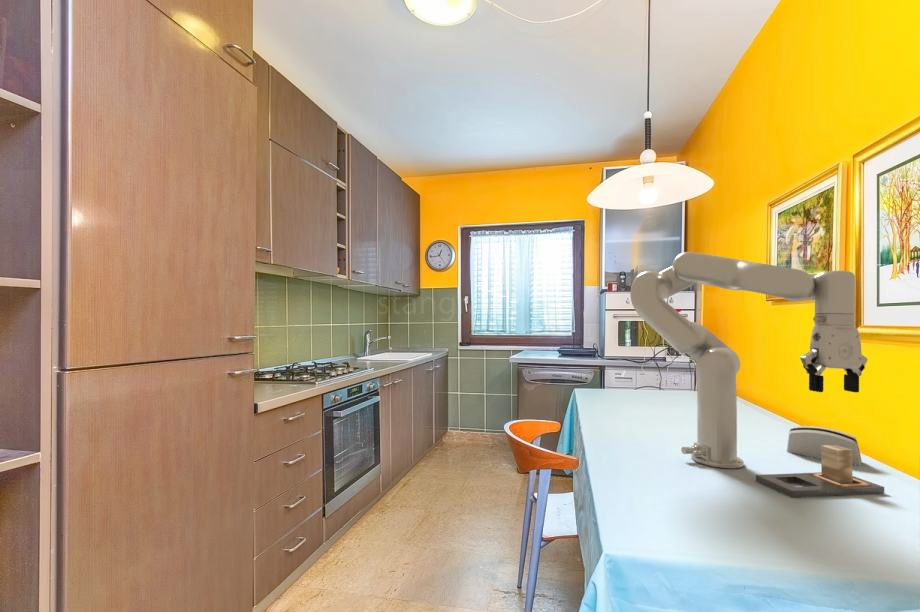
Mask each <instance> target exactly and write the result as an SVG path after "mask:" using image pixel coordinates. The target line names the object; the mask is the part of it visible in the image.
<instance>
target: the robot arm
mask: <svg viewBox="0 0 920 612" xmlns="http://www.w3.org/2000/svg"><path fill="white" fill-rule="evenodd" d="M855 275H856V274H854V273H853V272H852V271H850V270H829V271H821V272H819V273H808V272H807V271H804V270H802V269H797V268H791V267H787V266H785V267H784V266H780V265H774V264H767V263H761V262H753V261H748V260H743V259H737V258H731V257H725V256H724V257H723V256H718V255H712V254H708V253H700V252H694V251H684V252H681V253H679V254H678V255H677V256H676V257H674V260H673V261H672V265H671V266H670V267H668V268H666V269H663V270H662V271H660V272H658V271H654V270H653V271H652V270H651V271H649V270H647V271H643V272H640V273H639V274H638V275H637V276H635V278H634V279H633V281H632V284H631V286H630V302H631V304H632V306H633V308H634V311H635V312H636V313H637V315H638V316H639V317H640V318H641V320H643V321H644V322H645V323H646V324H648V326H650V328H651V329H653V330H654V331H655V332H656V333H657V334H658V335H659V336H660V337H661V338H662V339H663V340H665V342H667V343H668V344H669V345H670V346H671V347H672V349H674V350H675V351H676V352H678V353H681V354H687V355H688V356H689V357H691V359H693V360H694V361H695V379H696V380H695V381H696V391H697V392H696V393H697V394H696V396H697V397H696V398H697V399H696V403H697V409H696V412H697V418H696V419H697V420H696V421H697V429H696V430H697V433H696V434H697V435H696V436H697V437H696V440H697V441H695V442H693V445H691V446H682V447H681V450H680V451H681V453H682V454H683V455H690V454H691V455H690V457H691V459H692V460H693V461H695V462H697V463H699V464H701V465H706V466H708V467H709V466H710V467H713V468H719V469H720V468H722V469H740V468H742V467H743V466H745V463H744V462H745V461H744V460H743V458H741V457H738V428H737V427H738V418H737V417H738V410H737V409H738V407H737V406H738V405H737V403H738V402H737V401H738V399H737V395H738V394H737V374H738V373H739V371H740V369H741V360H740V357H739V356H738V354H737V353H736V352H735V351H734V350H733V349H732V348H731V347H730V346H728V344H726V343H725V342H724V341H723V340H721V339H720V338H719V337H718V336H716V335H715V334H714V333H713V332H711V331H710V330H709V329H708V328H707V327H705V326H704V325H702V324H701V323H698V322H695V321H690V320H688V319H687V318H686V317H684V316H683V315H682V314H681V313H680V312H678V311H677V309H676V308H674V307H673V306H672V305H670V304H669V303H668V302H667V301H665V299H668V298H670V297H672V296H674V295H676V294H678V293H680V292H682V291H684V290H686V289H688V288H690V287H692V286H693V285H696V284H700V285H706V286H711V287H714V288H715V287H716V288H719V289H720V288H721V289H723V290H724V289H725V290H730V291H747V292H753V293H756V294H757V293H758V294H763V295H767V296H772V297H773V296H774V297H778V298H781V299H784V300H787V301H790V302H804V301H814V316H813V318H812V320H813V322H814V326H812V331H811V336H810V342H809V351H808V352H806V353H804V354H802V355H801V356H800V357H799V358H800V360H801V363H802V367H803V369H805V371H806V374H807V375H808V389H809V391H811V392H816V393H823V392H824V375H822V374H823V372H824V371H825V370H826V369H827V368H829V369H843V371H844V372H845V374H843V390H844V391H845V392H846V391H847V392H851V393H859V392H860V377H861V376H862V372H863V371H864V370H865V368H866V364H867V362H868V357H867V356H865V355H863V353H862V343H861V337H860V332H859V329H858V328H857V327H856V276H855Z"/></svg>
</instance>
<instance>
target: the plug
mask: <svg viewBox="0 0 920 612" xmlns="http://www.w3.org/2000/svg"><path fill="white" fill-rule="evenodd" d="M820 460H821V466H820V468H821V472H822V477H824V478H826V479H829V480H832V481H834V482H837V483H840V484H853V481H852V476H853V464H852V450H851V449H847V448H844V447H840V446H837V445H821V458H820Z"/></svg>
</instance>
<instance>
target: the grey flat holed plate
mask: <svg viewBox="0 0 920 612" xmlns="http://www.w3.org/2000/svg"><path fill="white" fill-rule="evenodd" d="M852 481H853V484H840V483H837V482H834V481H832V480H829V479H826V478H824V477H822V471H820V472H797V473H774V474H771V473H770V474H755V482H757V483H758V484H762V485H764V486H765V487H768V488H770V489H772V490H774V491H777V492H779V493H781V494H783V495H784V496H788V497H790V498H792V499H795V498H796V499H798V498H815V497H816V498H817V497H819V498H820V497H821V498H822V497H838V496H839V497H840V496H843V497H844V496H858V495H859V496H862V495H880V494H881V495H882V494H885V486H883V485H879V484H877V483H874V482H871V481H867V480H866V479H862V478H859V477H857V476H855V475H852ZM793 484H797V485H800V486H795V485H793Z"/></svg>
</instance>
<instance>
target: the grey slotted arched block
mask: <svg viewBox="0 0 920 612" xmlns="http://www.w3.org/2000/svg"><path fill="white" fill-rule="evenodd" d="M821 445H837V446H840V447H844V448H847V449H851V450H852V465H854V464H858V465H857V466H859V465H860V466H861V465H862V462H863V461H862V457H861V453H860V448H859V443H858V439H857V438H856V437H855V436H854V435H851V434H849V433H846V432H843V431H841V430H840V431H839V430H836V429H832V428H827V427H822V426H812V425H809V426H808V425H806V426H805V425H804V426H800V425H799V426H793V427H791V428H790V429H789V432H788V439H787V447H786V452H787V453H790V454H795V455H800V454H801V456H805V455H807V456H806V457H811V456H813V457H812V458H816V457H818V458H817V459H821Z"/></svg>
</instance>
